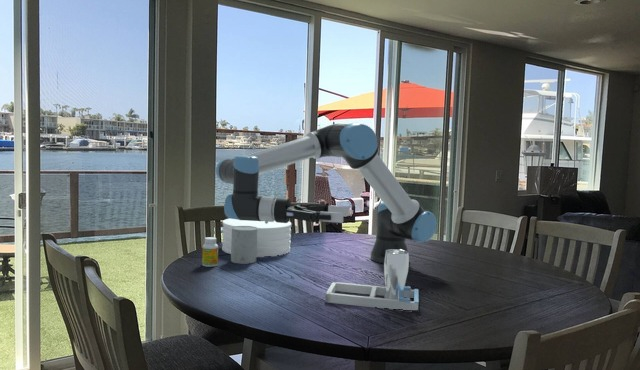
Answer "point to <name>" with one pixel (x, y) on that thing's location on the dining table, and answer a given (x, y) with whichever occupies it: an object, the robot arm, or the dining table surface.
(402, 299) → the light blue bracket
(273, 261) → the dining table surface
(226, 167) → the robot arm
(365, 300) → the frame
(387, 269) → the beer glass
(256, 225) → the plate stack
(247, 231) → the gray cylinder
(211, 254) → the supplement bottle
